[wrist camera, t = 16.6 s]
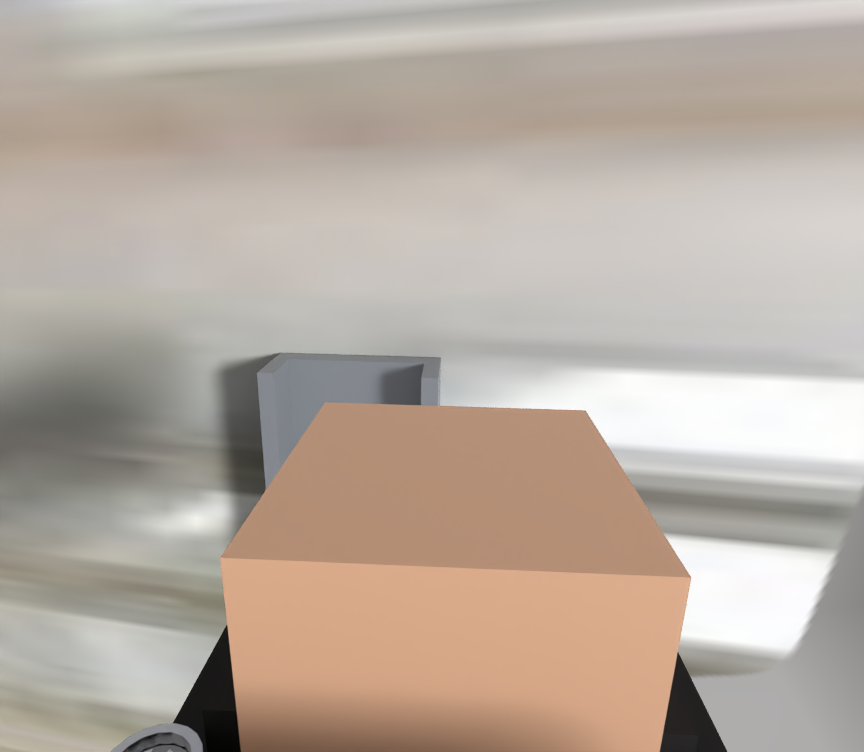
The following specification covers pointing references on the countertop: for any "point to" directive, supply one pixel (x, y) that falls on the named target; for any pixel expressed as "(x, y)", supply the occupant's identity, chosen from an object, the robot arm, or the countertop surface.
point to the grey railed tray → (333, 392)
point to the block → (452, 589)
